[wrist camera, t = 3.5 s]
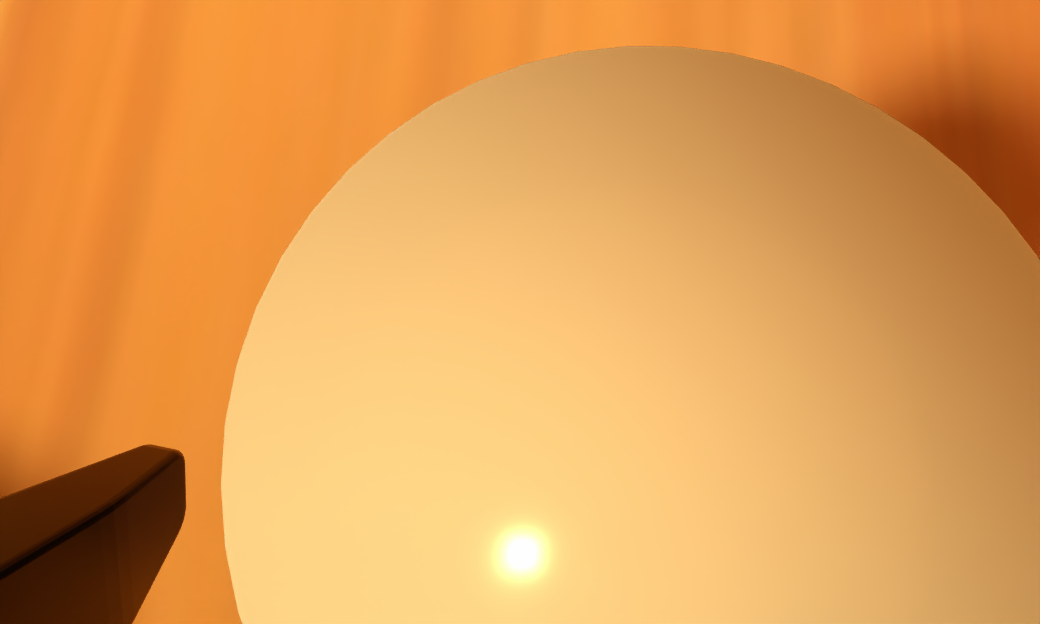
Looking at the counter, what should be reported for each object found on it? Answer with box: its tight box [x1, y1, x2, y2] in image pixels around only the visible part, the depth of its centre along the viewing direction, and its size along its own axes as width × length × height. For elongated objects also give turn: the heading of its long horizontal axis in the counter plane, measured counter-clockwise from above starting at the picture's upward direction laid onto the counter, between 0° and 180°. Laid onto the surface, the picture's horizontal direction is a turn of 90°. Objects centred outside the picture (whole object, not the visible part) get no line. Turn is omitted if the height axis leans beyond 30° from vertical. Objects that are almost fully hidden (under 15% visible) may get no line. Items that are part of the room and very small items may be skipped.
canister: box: [221, 46, 1040, 624], centre depth 12 cm, size 6×6×14 cm
